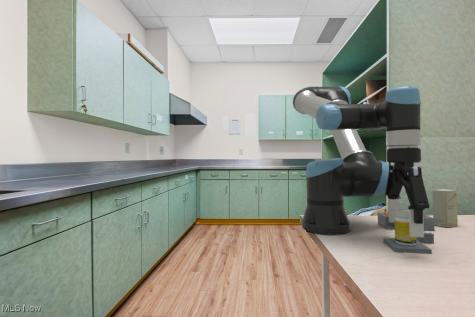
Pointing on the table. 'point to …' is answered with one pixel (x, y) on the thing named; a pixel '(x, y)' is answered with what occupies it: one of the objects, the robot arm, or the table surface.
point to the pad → (407, 247)
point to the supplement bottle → (403, 229)
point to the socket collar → (426, 238)
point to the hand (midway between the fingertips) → (404, 228)
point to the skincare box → (445, 208)
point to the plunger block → (385, 223)
